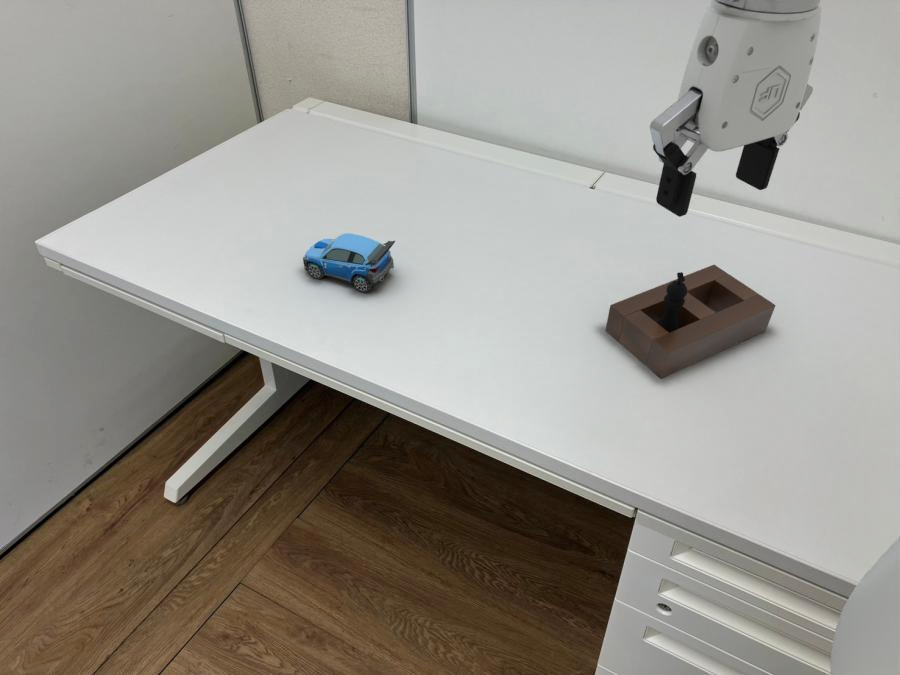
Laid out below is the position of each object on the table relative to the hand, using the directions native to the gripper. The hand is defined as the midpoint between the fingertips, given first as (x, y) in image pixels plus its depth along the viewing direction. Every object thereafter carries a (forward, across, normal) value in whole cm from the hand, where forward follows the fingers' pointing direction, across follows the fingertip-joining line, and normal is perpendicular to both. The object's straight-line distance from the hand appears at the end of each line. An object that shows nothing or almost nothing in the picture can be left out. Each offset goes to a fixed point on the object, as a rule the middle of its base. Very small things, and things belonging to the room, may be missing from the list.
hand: (711, 196), depth 62 cm
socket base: (+24, +10, +6) cm, 27 cm away
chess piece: (+24, +6, +6) cm, 26 cm away
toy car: (+24, -21, +37) cm, 49 cm away
